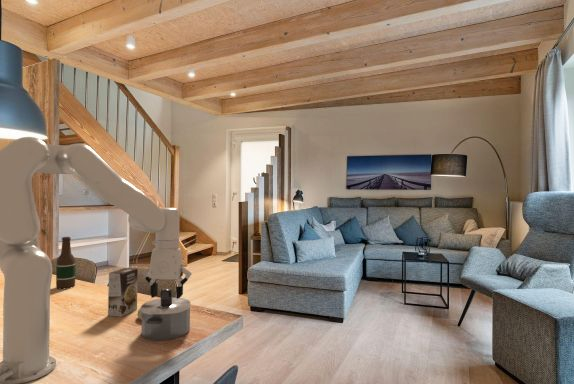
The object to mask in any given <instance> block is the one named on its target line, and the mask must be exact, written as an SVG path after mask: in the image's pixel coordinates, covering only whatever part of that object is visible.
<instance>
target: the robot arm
mask: <svg viewBox="0 0 574 384" xmlns="http://www.w3.org/2000/svg"><path fill="white" fill-rule="evenodd" d="M35 173H39V174H52V175H53V174H55V175H73V176H74V177H76V178H77V179H78V180H79V181H80V182H81V183H82V184H84V186H86V187H87V188H88V189H89V190H90V191H91V192H92V193H93V194H95V195H96V196H97V197H98V198H100V199H101V200H102V201H104V202H105V203H106V204H107V203H108V204H110V205H112V206H113V207H116V208H118V209H120V210H121V211H123V212H125V213H126V214H128V219H127V220H128V223H129V226H130V227H131V228H132V229H134V230H137V231H139V232H146V233H150V234H151V233H152V234H155V239H154V240H152V241H151V245H152V246H154V248H153V249H152V251H151V255H150V262H149V267H147V268H146V269H145V270H143V271H142V276H143V277H144V278H145V281H146V282H147V283H148V285H149V286H150V295H151V296H150V297H151V299H153V298H155V297H157V296H158V293H159V292H158V290H159V289H158V288H159V287H158V286H159V285H158V283H157V282H158V281H175V283H176V284H177V286H175V288H176V289H175V298H177V299H179V298H182V296H183V294H184V285H185V284H186V282H188V280H189V279H190V278H191V276H192V275H193V274H192V272H191V271H190V270H189V269H187V268H186V267H184V259H183V254H182V253H183V251H182V248H180V210H179V208H176V207H159V206H158V205H157V204H156V203H155V202H154V201H153V200H152V199H150V198H149V196H147V195H146V194H145V193H143V192H142V191H141V190H139V189H138V188H136V187H135V186H134V185H133V184H131V183H130V182H129V181H127V180H125V178H123V177H122V176H121V175H120V174H119V173H118V172H117V171H116V170H115V169H114V168H112V166H111V165H109V163H107V162H106V160H104V159H103V158H102V157H101V155H99V154H98V153H97V152H96V151H95V150H94V149H92V147H90V146H89V145H87V144H84V143H72V144H70V145H57V144H50V143H49V144H48V143H45V141H43V140H41V139H40V138H38V137H35V136H24V137H20V138H18V139H15V140H13V141H11V142H10V143H8V144H7V145H5V146H4V147H3V148H1V149H0V271H1V273H2V274H3V276H4V279H3V280H4V286H3V287H4V288H3V300H2V301H3V303H2V309H3V310H2V316H3V318H2V319H3V320H2V324H3V325H2V327H3V328H2V330H3V331H2V333H3V335H2V361H0V384H24V383H29V382H32V381H35V380H37V379H39V378H42V377H44V376H46V375H48V374H49V373H51V372H52V371H53V370H54V369H55V368H56V365H57V360H56V358H55V357H53V356H50V332H51V329H50V327H51V325H50V323H51V322H50V319H51V318H50V316H51V310H50V309H51V308H50V306H51V285H52V277H53V264H52V261H51V259H50V257H49V255H48V254H47V253H46V252H44V251H43V250H41V246H40V242H39V241H40V240H39V237H38V235H39V233H40V230H41V222H40V218H39V217H40V216H39V214H38V210H37V206H36V203H35V197H34V191H33V186H32V183H33V178H34V174H35ZM183 276H184V278H183Z"/></svg>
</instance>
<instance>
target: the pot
mask: <svg viewBox="0 0 574 384" xmlns="http://www.w3.org/2000/svg"><path fill="white" fill-rule="evenodd" d="M190 315H191V306H190V307H189V308H188V309H187V310H185V311H183V312H180V313H176V314H171V315H148V314H145V313H143V312H142V320H141V336H142V338H143V339H146V340H149V341H154V342H155V341H156V342H162V341H170V340H174V339H178V338H181V337H183V336H185V335H187V334H188V333H189V332H190V330H191V325H190V324H191V320H190V319H191V316H190Z"/></svg>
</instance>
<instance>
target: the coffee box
mask: <svg viewBox="0 0 574 384" xmlns="http://www.w3.org/2000/svg"><path fill="white" fill-rule="evenodd" d="M138 270H139V269H138V268H126V267H124V268H120V269H117V270H114V271H111V272H108V291H107V292H108V297H107V299H108V300H107V316H109V317H110V316H111V317H120V318H123V317H125V316H126V315H128V314H131V313H132V312H134V311H136V310H137V309H138V276H139V275H138V274H139V272H138Z"/></svg>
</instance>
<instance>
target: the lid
mask: <svg viewBox="0 0 574 384" xmlns="http://www.w3.org/2000/svg"><path fill="white" fill-rule="evenodd" d="M189 307H190V308H191V301H190V300H189V299H186V298H184V297H183V298H182V297H180V298H179V299H177V298H176V297H173V289H172V287H171V288H170V287H169V288H168V287H166V288H161V290H160V298H156V299H152V300H148V301H147V302H144V303H143V304H142V305H141V306H140V308H141V311H142V312H143V313H145V314H148V315H171V314H176V313H180V312H183V311H185V310H187V309H188V308H189Z"/></svg>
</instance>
